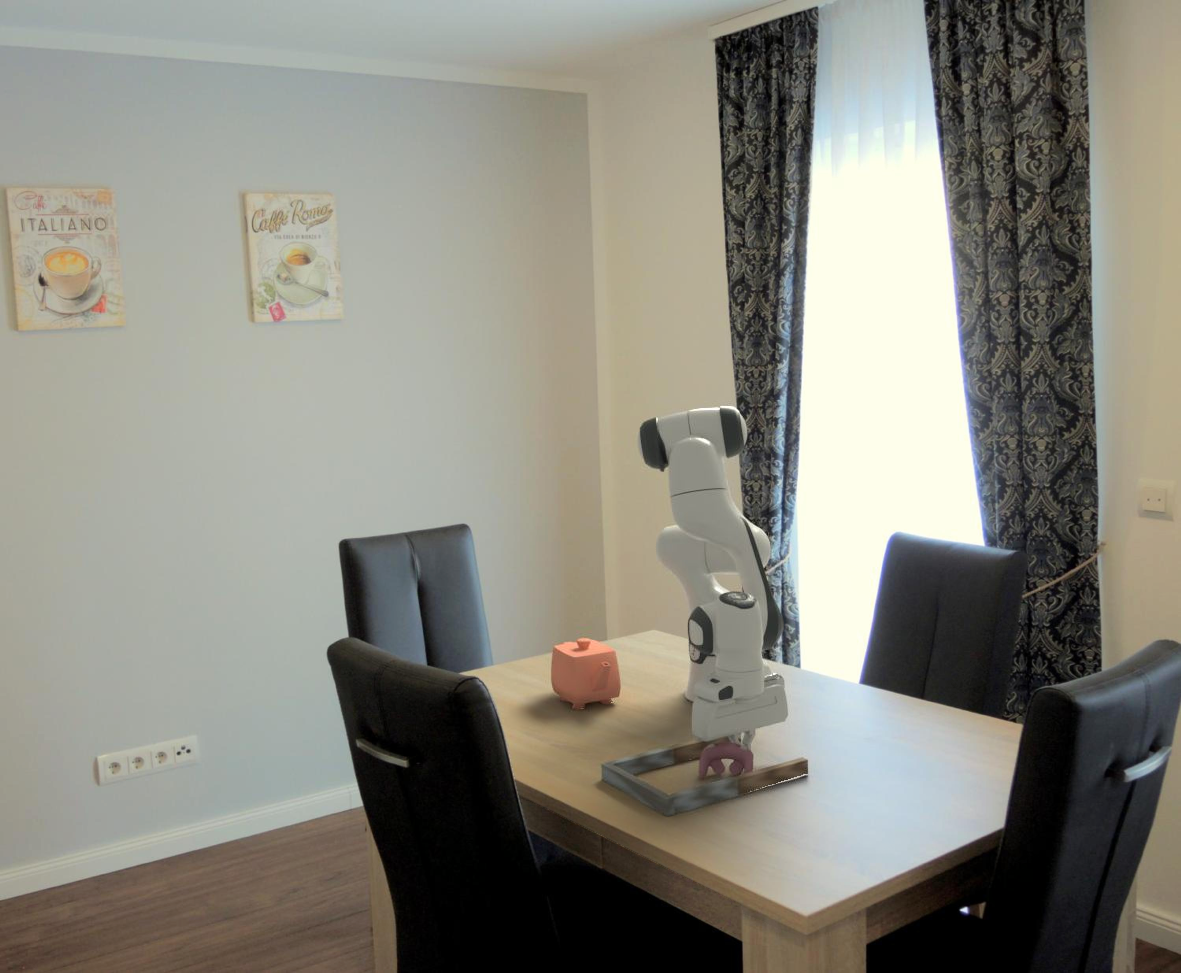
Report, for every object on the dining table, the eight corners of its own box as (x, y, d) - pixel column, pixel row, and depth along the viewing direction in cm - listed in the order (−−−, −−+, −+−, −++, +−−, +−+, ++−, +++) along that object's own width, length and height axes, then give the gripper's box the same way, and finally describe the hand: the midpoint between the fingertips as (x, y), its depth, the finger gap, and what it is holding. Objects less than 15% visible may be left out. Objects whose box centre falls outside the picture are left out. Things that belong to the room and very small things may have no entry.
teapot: (634, 709, 251) (632, 646, 250) (581, 719, 246) (578, 655, 244) (592, 684, 271) (589, 626, 269) (542, 693, 266) (539, 633, 264)
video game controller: (754, 783, 210) (755, 744, 212) (751, 781, 206) (752, 741, 208) (700, 780, 212) (702, 742, 215) (696, 778, 208) (698, 738, 211)
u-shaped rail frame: (736, 744, 227) (735, 729, 226) (808, 775, 209) (807, 759, 208) (601, 779, 211) (601, 763, 211) (667, 816, 193) (666, 799, 193)
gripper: (772, 667, 220) (774, 737, 222) (685, 687, 210) (688, 760, 211) (794, 674, 215) (796, 746, 216) (706, 695, 204) (708, 770, 206)
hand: (742, 753), depth 214 cm, fingers closed
